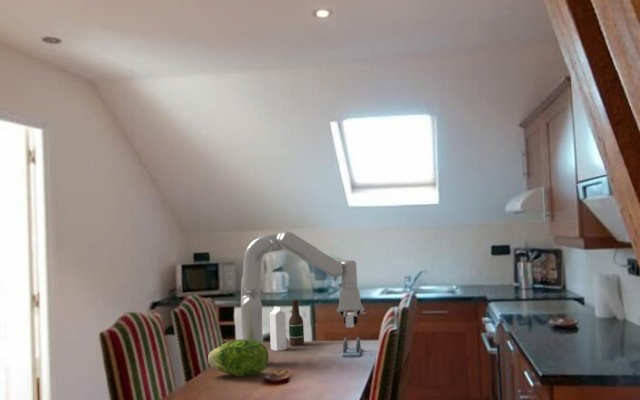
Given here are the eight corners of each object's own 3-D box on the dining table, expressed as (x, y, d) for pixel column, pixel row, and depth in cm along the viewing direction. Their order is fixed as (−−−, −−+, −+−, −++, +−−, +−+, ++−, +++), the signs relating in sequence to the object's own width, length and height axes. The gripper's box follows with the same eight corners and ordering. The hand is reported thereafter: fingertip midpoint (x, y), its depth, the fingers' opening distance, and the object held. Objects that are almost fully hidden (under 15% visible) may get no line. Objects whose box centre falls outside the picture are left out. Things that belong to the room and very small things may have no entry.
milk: (276, 351, 300) (275, 307, 301) (270, 349, 305) (268, 306, 306) (286, 349, 304) (285, 306, 305) (280, 347, 309) (278, 305, 310)
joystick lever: (354, 327, 274) (354, 317, 275) (344, 327, 275) (344, 317, 275) (357, 321, 292) (357, 312, 292) (348, 321, 292) (348, 312, 292)
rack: (359, 356, 279) (358, 342, 279) (342, 357, 280) (341, 343, 280) (361, 349, 297) (360, 335, 297) (345, 349, 297) (344, 336, 298)
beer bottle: (303, 346, 310) (302, 300, 311) (289, 346, 310) (287, 301, 312) (304, 343, 318) (302, 298, 319) (290, 343, 318) (288, 299, 319)
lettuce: (214, 371, 262) (213, 336, 262) (272, 371, 257) (271, 335, 258) (202, 380, 247) (201, 343, 248) (264, 380, 243) (262, 342, 243)
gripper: (331, 287, 280) (332, 326, 279) (366, 286, 277) (367, 325, 276) (333, 285, 287) (334, 323, 286) (367, 285, 285) (368, 323, 284)
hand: (350, 324), depth 281 cm, fingers closed on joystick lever, 3 cm apart
